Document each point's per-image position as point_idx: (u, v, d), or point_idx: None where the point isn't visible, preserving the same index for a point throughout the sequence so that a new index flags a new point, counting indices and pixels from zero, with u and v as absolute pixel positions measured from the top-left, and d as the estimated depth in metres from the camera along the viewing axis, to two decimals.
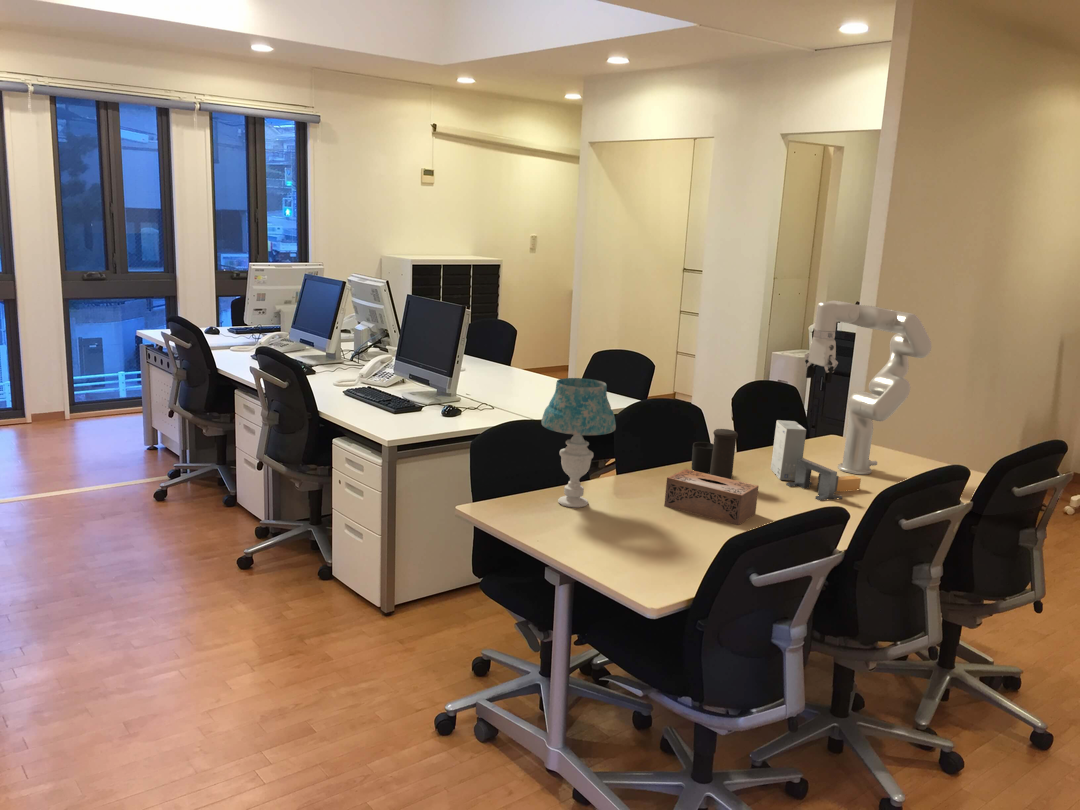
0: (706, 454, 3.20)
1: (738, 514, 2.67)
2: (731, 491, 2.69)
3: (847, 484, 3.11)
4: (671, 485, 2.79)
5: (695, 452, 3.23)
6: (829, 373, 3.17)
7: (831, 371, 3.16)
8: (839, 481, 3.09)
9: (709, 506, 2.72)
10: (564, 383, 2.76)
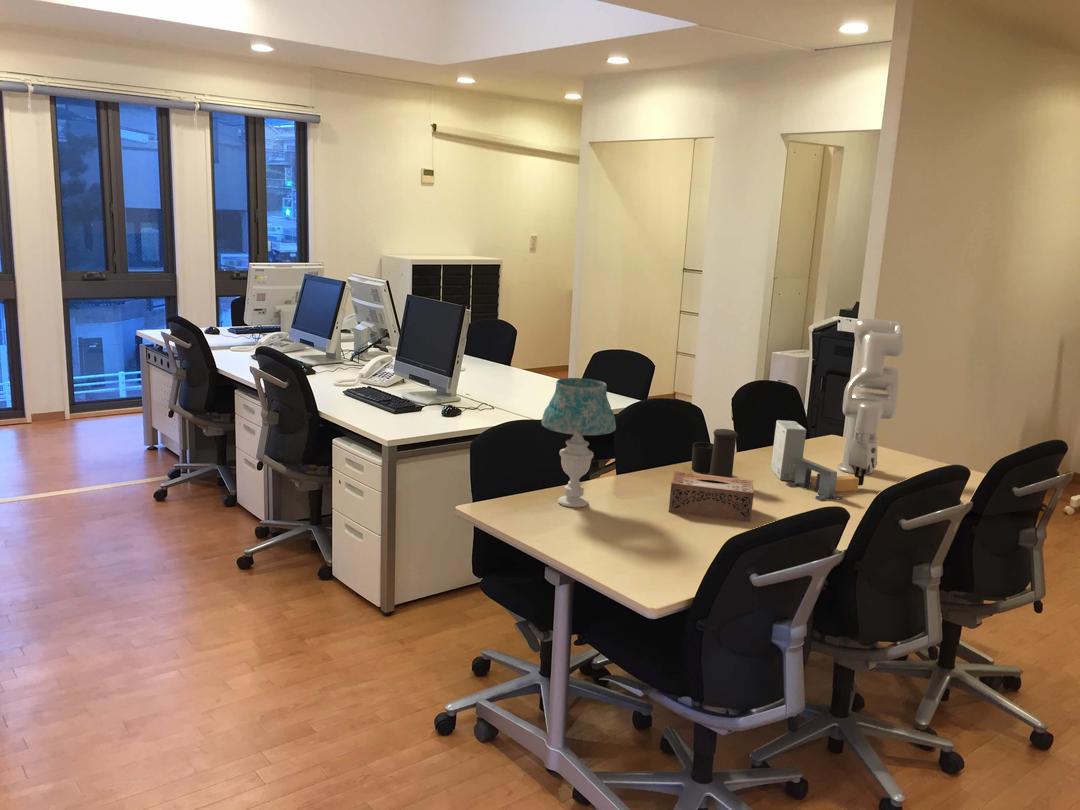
0: (706, 454, 3.20)
1: (750, 511, 2.70)
2: (740, 489, 2.71)
3: (845, 484, 3.10)
4: (676, 490, 2.74)
5: (695, 452, 3.23)
6: (861, 476, 3.13)
7: (863, 474, 3.12)
8: (837, 481, 3.09)
9: (718, 507, 2.72)
10: (564, 383, 2.76)
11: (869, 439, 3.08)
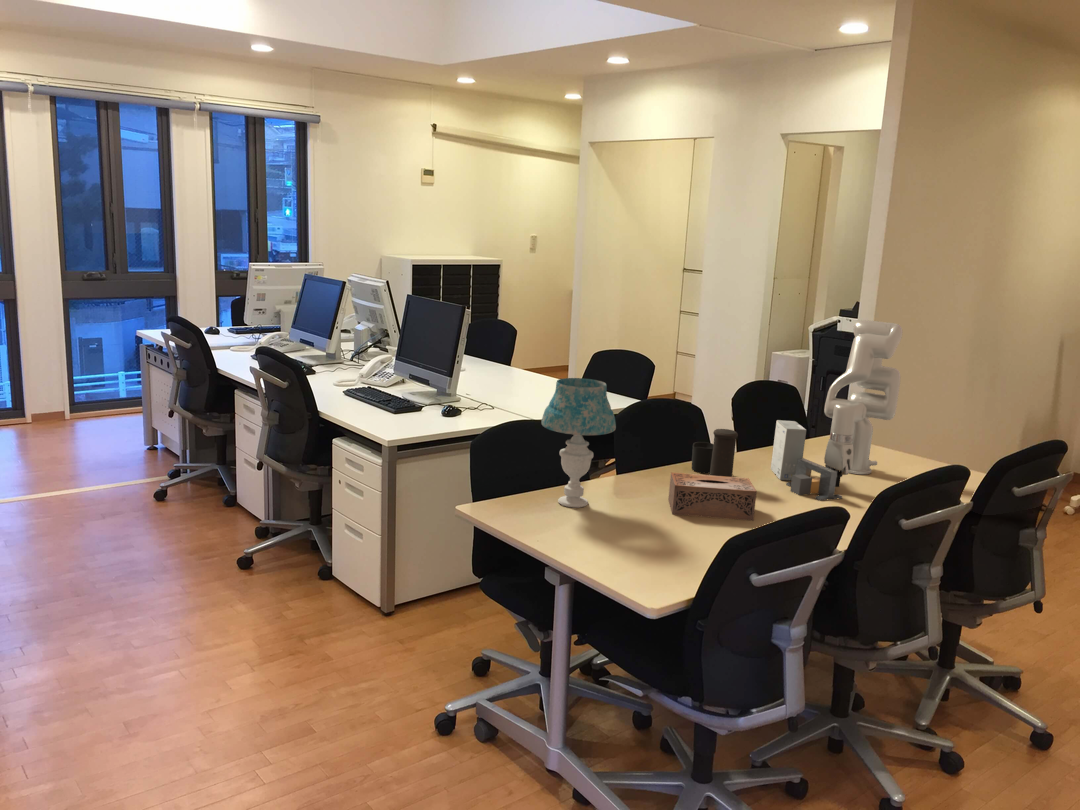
0: (706, 454, 3.20)
1: (753, 510, 2.72)
2: (742, 488, 2.72)
3: None
4: (680, 492, 2.72)
5: (695, 452, 3.23)
6: (837, 478, 3.09)
7: (839, 476, 3.08)
8: (813, 483, 3.05)
9: (722, 507, 2.72)
10: (564, 383, 2.76)
11: (845, 440, 3.03)
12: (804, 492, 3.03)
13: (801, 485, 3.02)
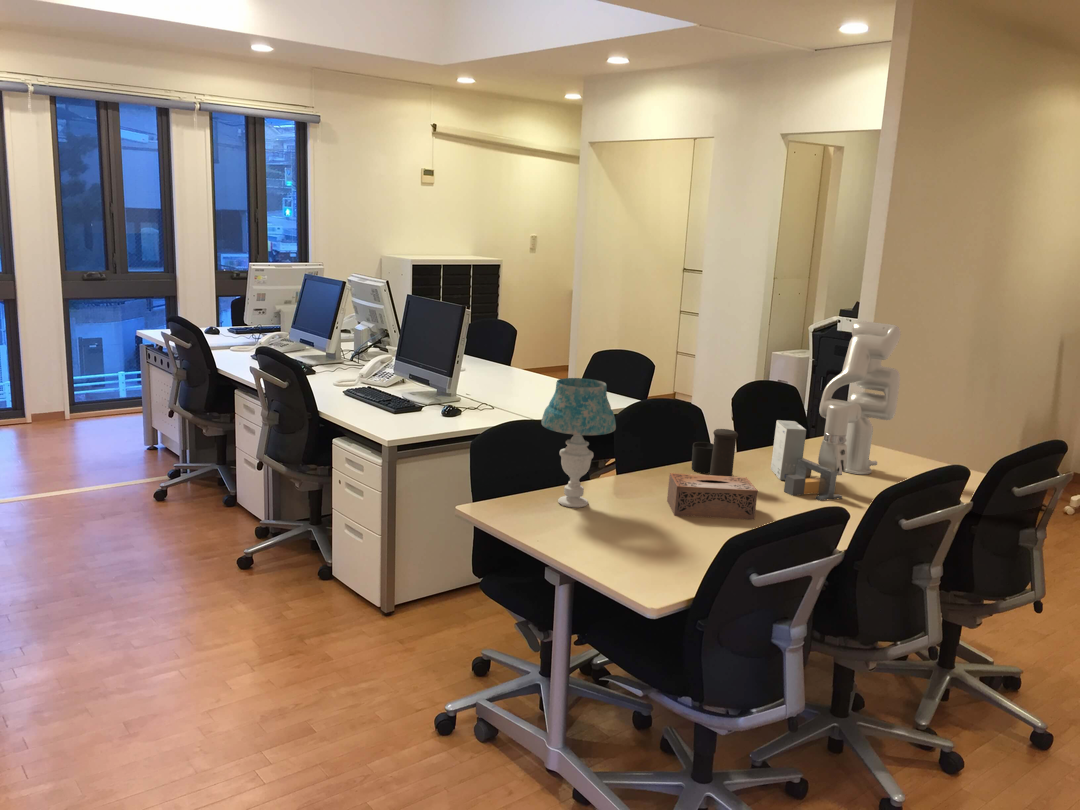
0: (706, 454, 3.20)
1: (754, 509, 2.73)
2: (743, 488, 2.73)
3: (814, 486, 3.05)
4: (682, 493, 2.71)
5: (695, 452, 3.23)
6: None
7: None
8: (806, 483, 3.04)
9: (723, 507, 2.73)
10: (564, 383, 2.76)
11: (838, 441, 3.02)
12: (798, 492, 3.02)
13: (795, 485, 3.01)
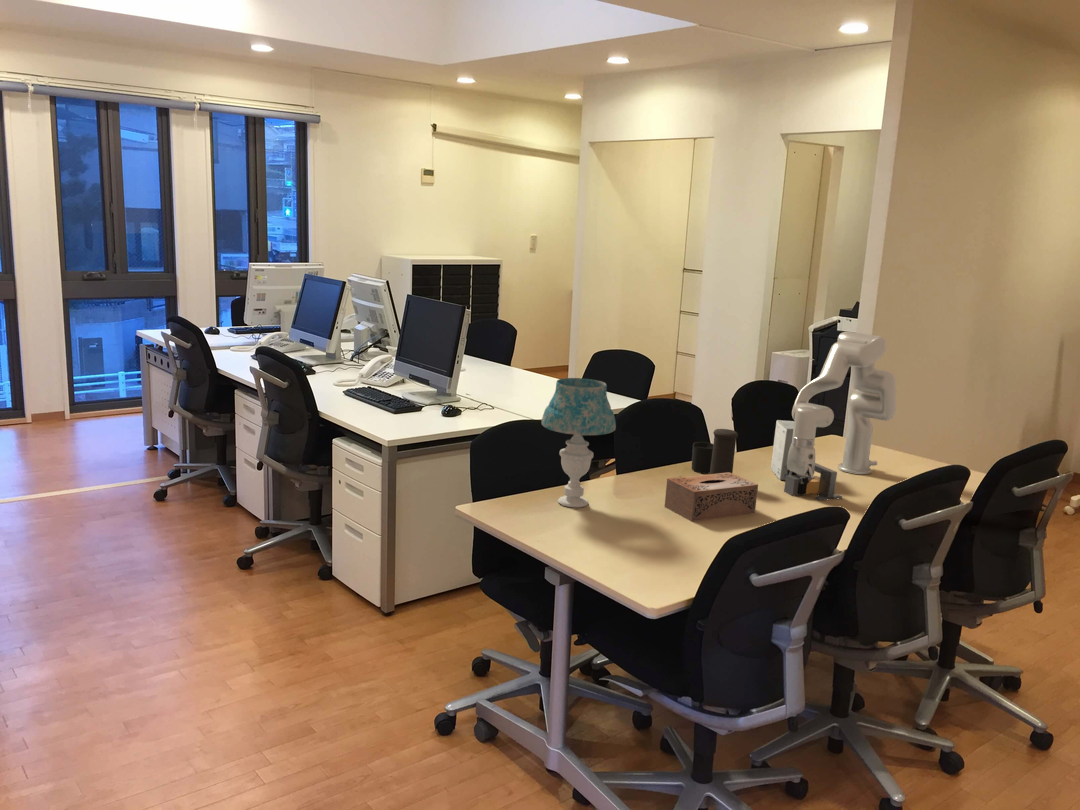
0: (706, 454, 3.20)
1: (755, 503, 2.79)
2: (745, 484, 2.78)
3: (814, 486, 3.05)
4: (698, 498, 2.68)
5: (695, 452, 3.23)
6: (804, 484, 3.01)
7: (806, 482, 3.00)
8: None
9: (731, 506, 2.75)
10: (564, 383, 2.76)
11: (806, 445, 2.97)
12: None
13: (795, 486, 3.01)
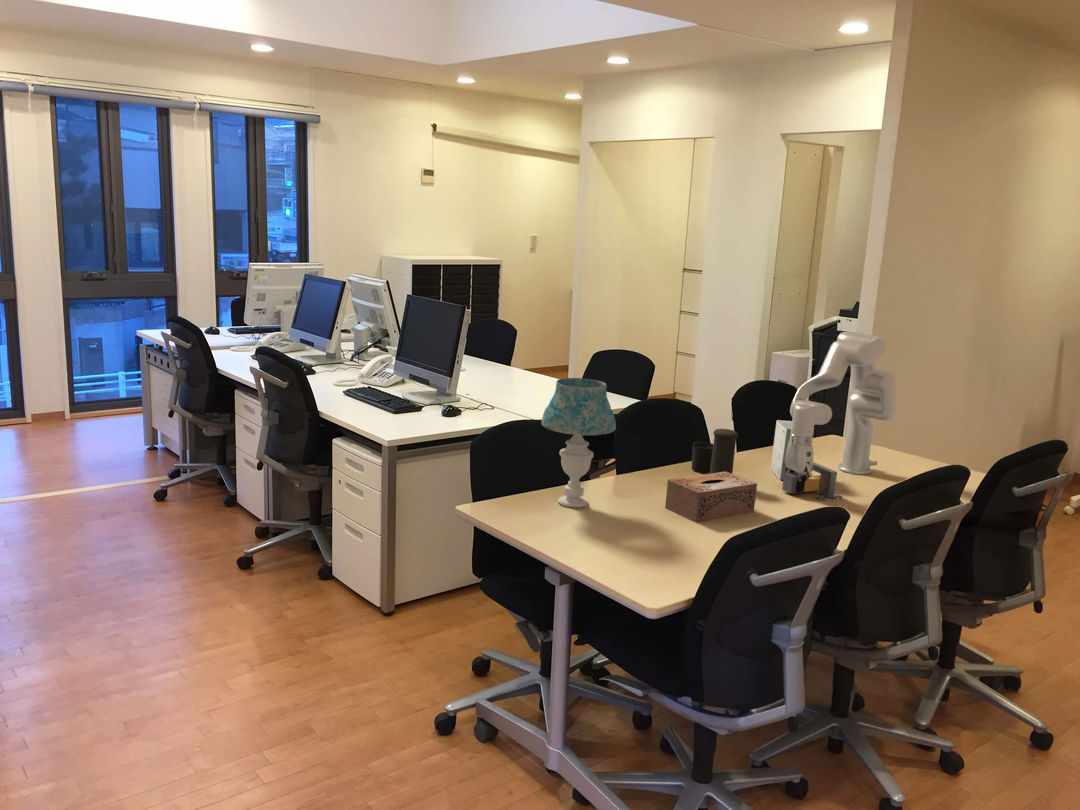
0: (706, 454, 3.20)
1: (754, 501, 2.80)
2: (744, 483, 2.78)
3: (812, 484, 3.05)
4: (702, 498, 2.67)
5: (695, 452, 3.23)
6: (802, 482, 3.00)
7: (804, 480, 2.99)
8: None
9: (732, 505, 2.75)
10: (564, 383, 2.76)
11: (804, 442, 2.97)
12: None
13: (793, 483, 3.00)
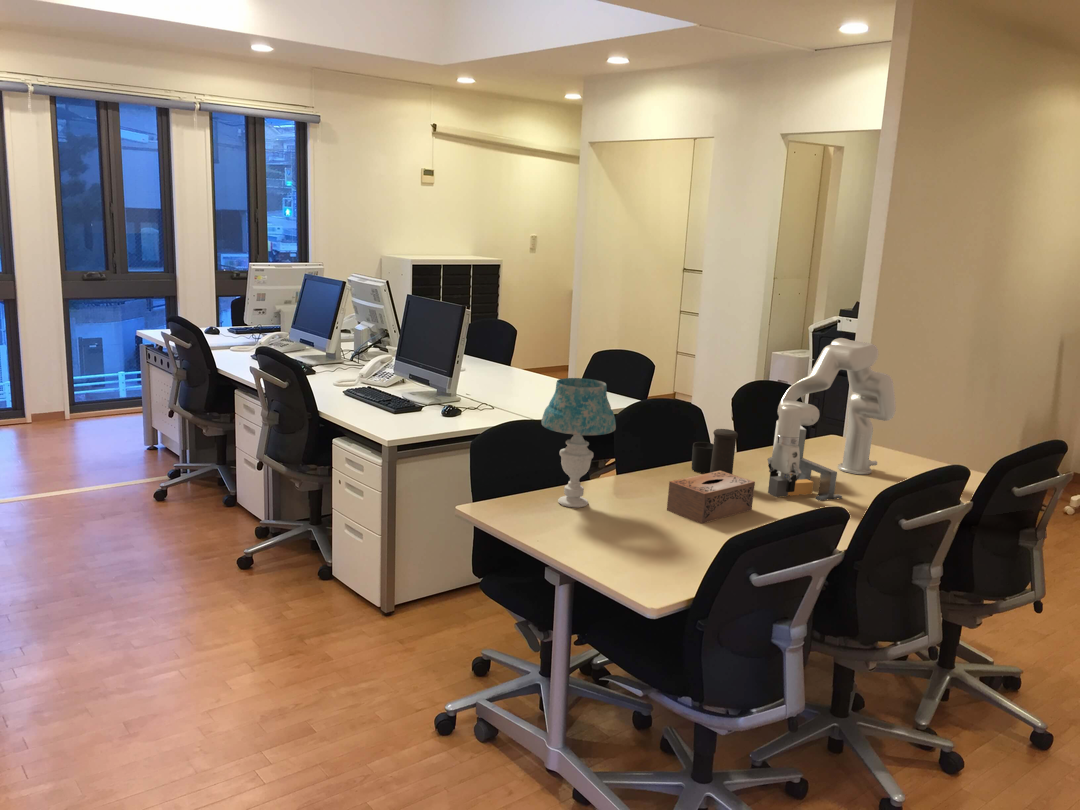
0: (706, 454, 3.20)
1: (752, 500, 2.82)
2: (743, 482, 2.80)
3: (798, 487, 3.02)
4: (707, 499, 2.66)
5: (695, 452, 3.23)
6: (792, 482, 2.96)
7: (794, 480, 2.95)
8: None
9: (733, 504, 2.76)
10: (564, 383, 2.76)
11: (790, 443, 2.94)
12: (781, 494, 2.99)
13: (778, 487, 2.98)
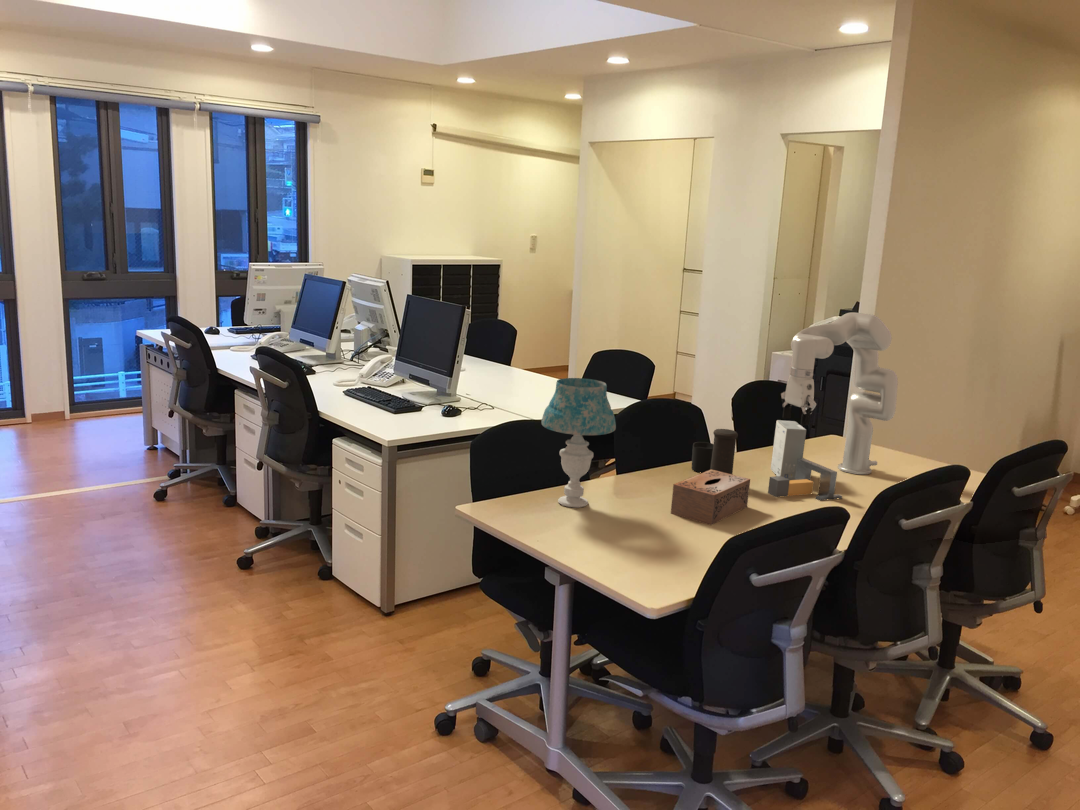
0: (706, 454, 3.20)
1: (747, 497, 2.85)
2: (740, 480, 2.82)
3: (798, 487, 3.02)
4: (716, 500, 2.66)
5: (695, 452, 3.23)
6: (807, 415, 2.91)
7: (809, 413, 2.91)
8: (790, 485, 3.01)
9: (734, 503, 2.77)
10: (564, 383, 2.76)
11: (805, 375, 2.90)
12: (781, 494, 2.99)
13: (778, 487, 2.98)
